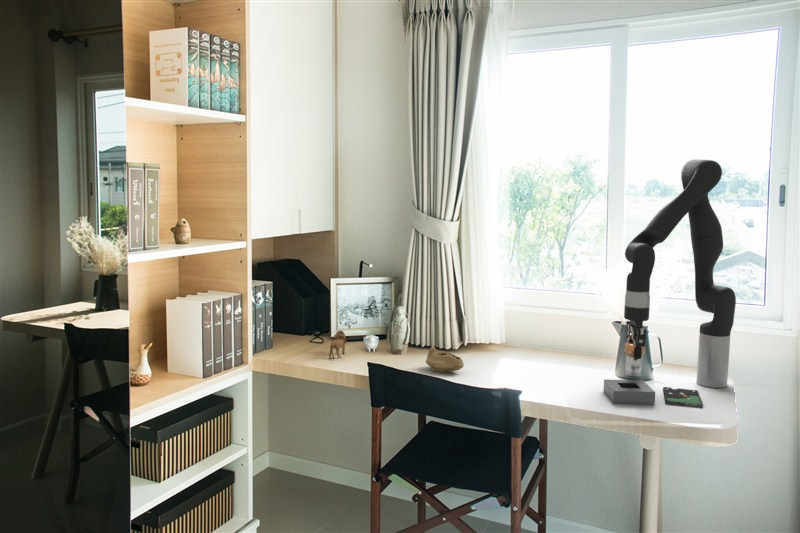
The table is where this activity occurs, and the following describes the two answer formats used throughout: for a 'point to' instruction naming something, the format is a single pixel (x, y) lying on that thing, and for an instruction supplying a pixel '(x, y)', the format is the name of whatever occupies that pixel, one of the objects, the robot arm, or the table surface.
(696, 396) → the disk drive
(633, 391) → the housing
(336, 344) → the lion figurine
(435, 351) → the oil lamp
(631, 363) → the capped jar
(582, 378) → the table surface
